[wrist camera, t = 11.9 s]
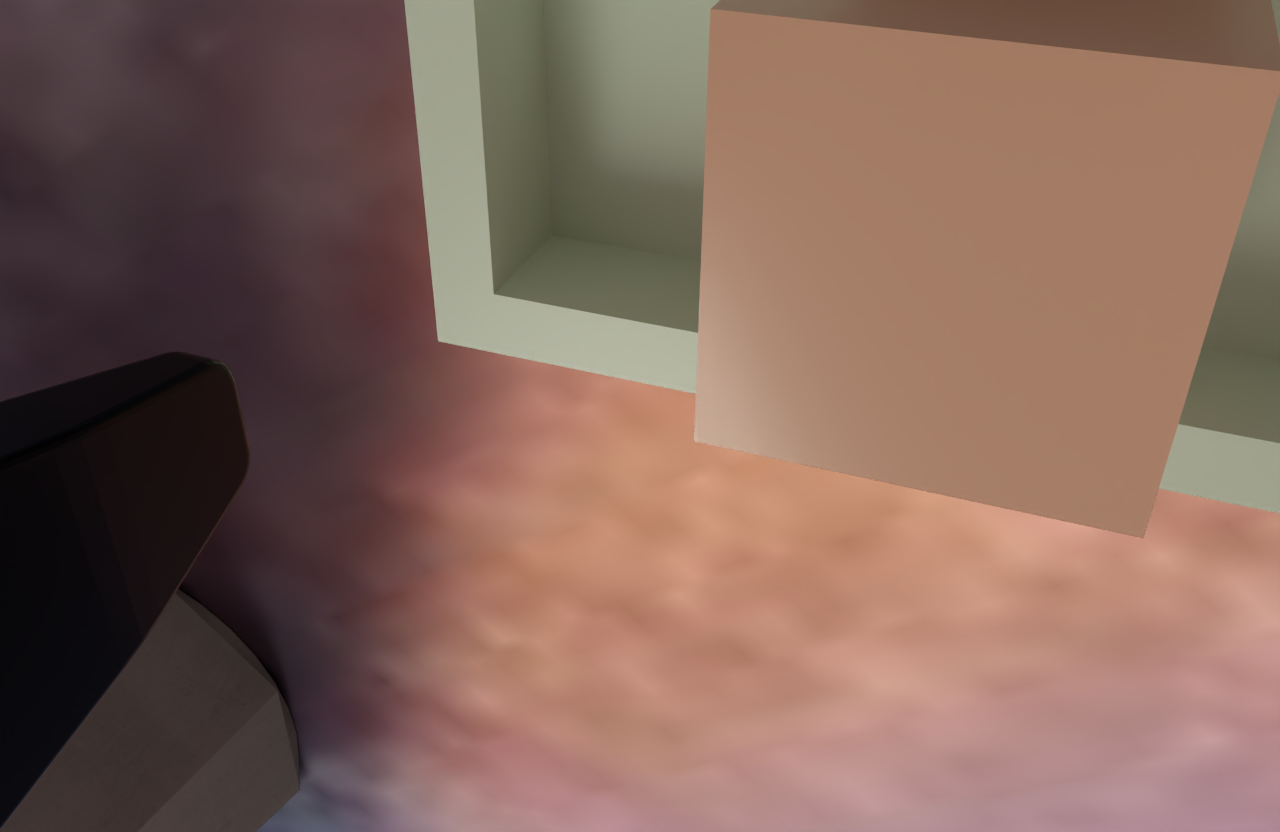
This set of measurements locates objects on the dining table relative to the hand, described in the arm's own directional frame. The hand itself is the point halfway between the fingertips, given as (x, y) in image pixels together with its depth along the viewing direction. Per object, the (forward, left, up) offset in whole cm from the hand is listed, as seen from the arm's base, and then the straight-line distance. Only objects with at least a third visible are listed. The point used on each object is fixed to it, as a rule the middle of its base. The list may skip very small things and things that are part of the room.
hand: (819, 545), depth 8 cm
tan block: (0, 0, -10) cm, 10 cm away
